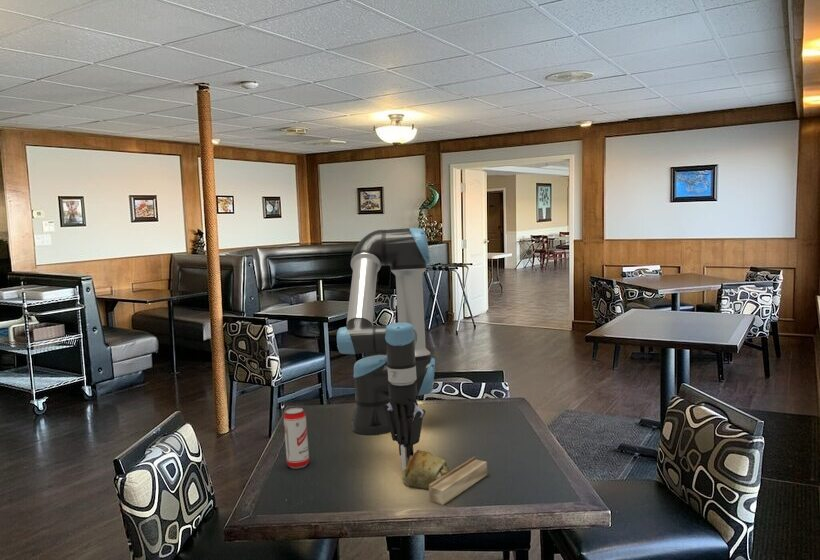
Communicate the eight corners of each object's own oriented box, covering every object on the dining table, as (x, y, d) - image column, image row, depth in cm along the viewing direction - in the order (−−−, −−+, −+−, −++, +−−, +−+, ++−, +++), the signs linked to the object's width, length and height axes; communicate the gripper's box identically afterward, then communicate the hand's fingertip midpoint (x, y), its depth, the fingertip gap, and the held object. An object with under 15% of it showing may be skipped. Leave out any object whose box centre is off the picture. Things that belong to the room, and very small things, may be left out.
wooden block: (429, 500, 149) (428, 484, 149) (474, 471, 165) (473, 456, 165) (443, 505, 147) (442, 488, 147) (487, 474, 162) (486, 459, 162)
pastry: (395, 476, 165) (393, 447, 164) (437, 466, 170) (436, 438, 169) (415, 497, 152) (413, 466, 151) (460, 486, 157) (459, 456, 156)
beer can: (313, 461, 178) (309, 407, 176) (302, 470, 172) (298, 414, 170) (294, 460, 180) (290, 406, 178) (283, 468, 174) (278, 413, 172)
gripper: (374, 382, 165) (379, 467, 167) (412, 388, 157) (417, 478, 159) (392, 375, 171) (397, 458, 173) (430, 381, 162) (434, 468, 165)
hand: (407, 467), depth 166 cm, fingers closed
